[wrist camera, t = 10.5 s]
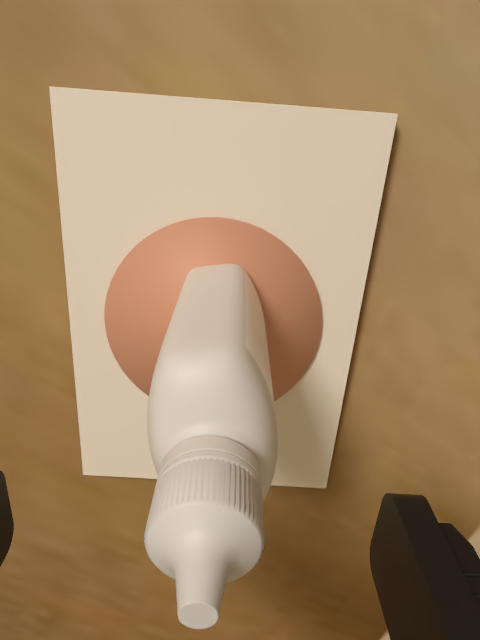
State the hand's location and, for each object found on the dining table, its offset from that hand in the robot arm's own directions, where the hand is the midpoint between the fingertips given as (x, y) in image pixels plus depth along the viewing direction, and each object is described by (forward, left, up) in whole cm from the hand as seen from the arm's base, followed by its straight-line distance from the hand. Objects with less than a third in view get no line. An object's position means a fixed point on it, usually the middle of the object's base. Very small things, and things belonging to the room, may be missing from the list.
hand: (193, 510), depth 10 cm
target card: (0, 0, -11) cm, 11 cm away
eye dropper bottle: (0, 0, -10) cm, 10 cm away
